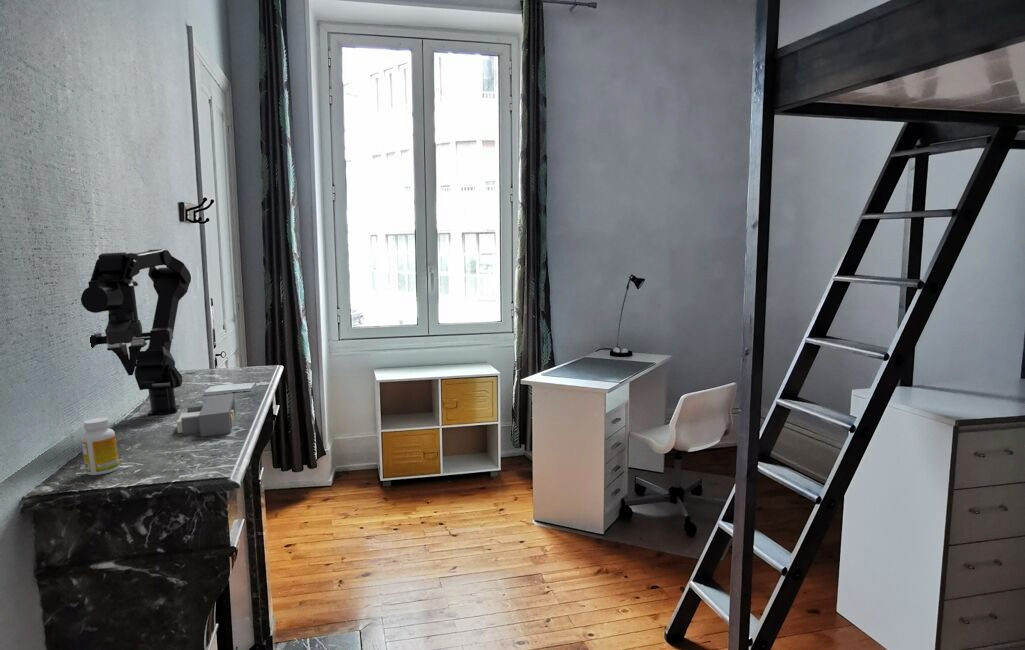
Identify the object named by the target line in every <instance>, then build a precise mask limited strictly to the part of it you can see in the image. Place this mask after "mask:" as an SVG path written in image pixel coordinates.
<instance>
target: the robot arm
mask: <svg viewBox="0 0 1025 650" xmlns="http://www.w3.org/2000/svg"><path fill="white" fill-rule="evenodd" d="M157 266H165V267H159V268H156V267H157ZM144 269H148V274H147V275H148V277H149V279H150V280H151V281H152V282H153V284H152V287H153V288H154V290H155V292H156V294H157V300H156V305H155V311H154V317H153V321H152V326H151V329H150V331H148V332H143V326H142V323H141V319H139V315H138V306H137V300H136V292H135V290H136V289H135V287H138V286H139V283H138V282H137V280H135V279H133V278H134V277H135V276H137V275H138V274H140V271H141V270H144ZM191 282H192V275H191V272H190V270H189V269H188V268H187V266H186V264H184V262H182V261H181V260H179V259H178V258H176V257H174V256H173V255H171V252H170V251H169V250H168V249H165V248H161V249H159V248H158V249H148V250H146V251H143V252H129V251H126V252H125V251H123V252H107V253H101V254H99V255H98V259H96V261H95V264H94V267H93V270H92V274H91V278H90V280H88V283H87V284H88V287H86V288H85V289H84V290H83V292H82V294H81V296H80V302H81V305H82V307H84V309H85V310H87V311H88V312H89V313H93V314H94V313H95V314H96V313H97V314H98V313H102V312H108V315H107V316H108V318H107V319H108V321H107V324H106V327H105V331H104V333H105V335H102V332H97V334H95V333H93V334H94V335H91V337H90V343H91V347H92V348H91V349H94V348H95V347H96V346H99V345H106V346H107V347H106V350H107V351H111V352H113V353H114V354H115V355H116V357H118V359H119V361H120V362H121V364H122V366H123V368H124V370H125V372H126V373H127V375H128V376H133V375H134V378H135V381H136V383H137V387H138V389H139V391H143V390H144V391H145V390H148V398H149V406H150V410H149V411H148V412H147V416H153V415H154V416H157V415H163V414H171V413H177V412H178V410H179V409H180V404H177V401H176V391H175V389H176V388H180V387H182V385H183V376H182V374H181V373H180V371H179V370H178V369H177V368H176V360H175V358H174V357H173V355H172V353H171V347H172V342H173V339H174V331H175V325H176V318H177V313H178V309H179V308H178V307H179V302H180V300H181V299H182V298H183V297H184V296H186V294H187V293H188V290H189V288H190V284H191ZM146 341H149V342H148V343H147V342H146ZM98 344H99V345H98ZM127 344H130V345H129V346H127ZM147 345H148V347H147V348H146V349H145V350H142V348H144V347H146V346H147Z"/></svg>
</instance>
